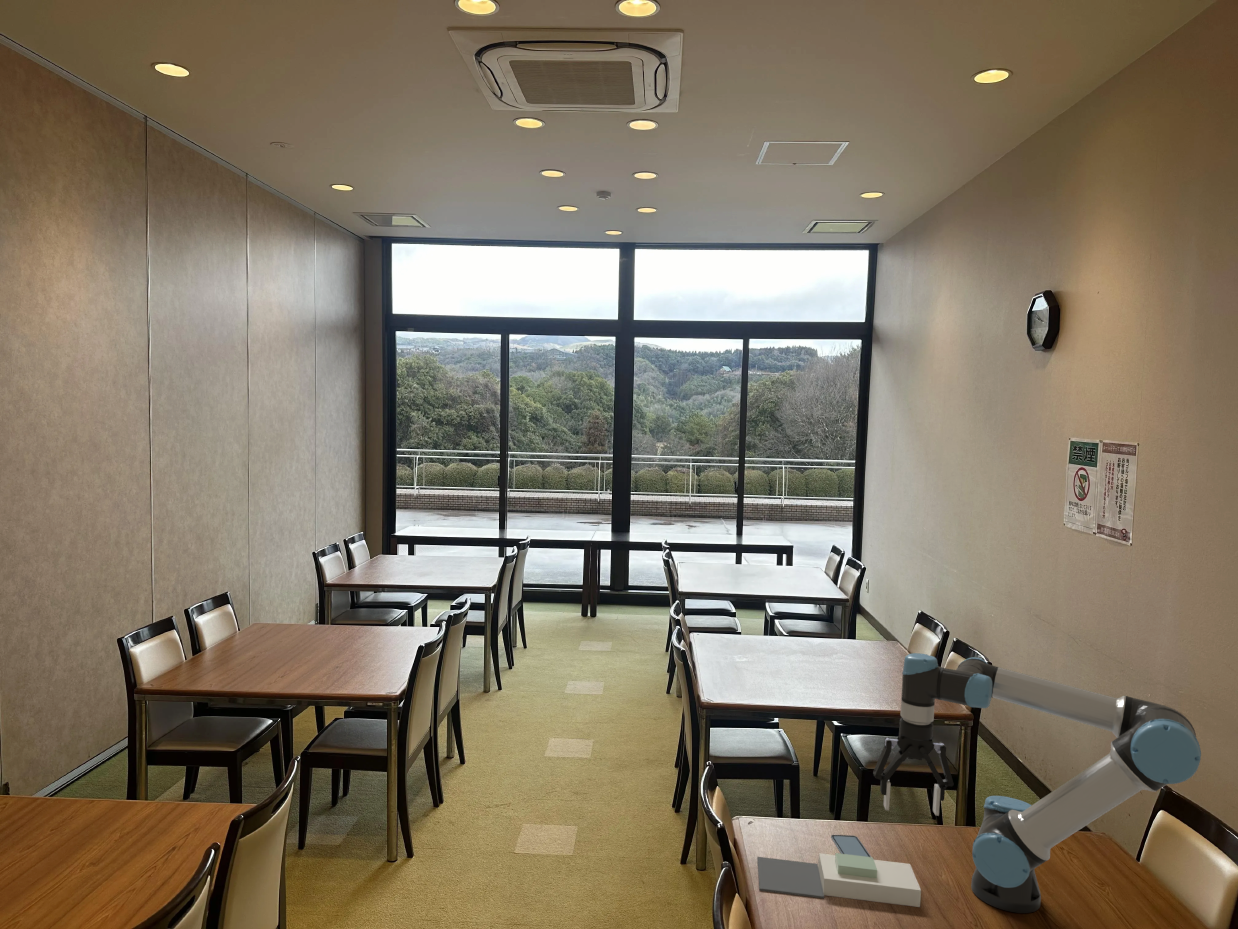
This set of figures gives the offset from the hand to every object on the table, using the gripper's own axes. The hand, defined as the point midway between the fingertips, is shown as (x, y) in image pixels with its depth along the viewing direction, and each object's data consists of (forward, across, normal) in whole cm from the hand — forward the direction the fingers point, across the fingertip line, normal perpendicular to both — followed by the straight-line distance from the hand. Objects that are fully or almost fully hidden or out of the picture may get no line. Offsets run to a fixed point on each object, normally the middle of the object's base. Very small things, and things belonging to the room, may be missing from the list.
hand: (910, 810), depth 195 cm
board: (+20, +9, 0) cm, 22 cm away
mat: (+20, +28, 0) cm, 34 cm away
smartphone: (+21, +10, -18) cm, 29 cm away
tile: (+16, +12, 0) cm, 20 cm away
